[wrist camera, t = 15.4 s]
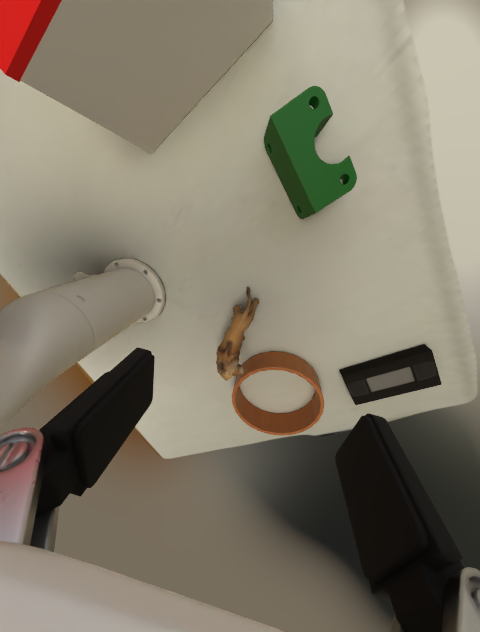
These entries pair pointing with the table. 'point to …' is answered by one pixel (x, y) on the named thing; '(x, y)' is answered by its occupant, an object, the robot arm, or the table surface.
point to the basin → (276, 421)
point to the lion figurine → (235, 340)
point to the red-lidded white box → (128, 55)
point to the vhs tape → (392, 375)
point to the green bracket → (306, 154)
